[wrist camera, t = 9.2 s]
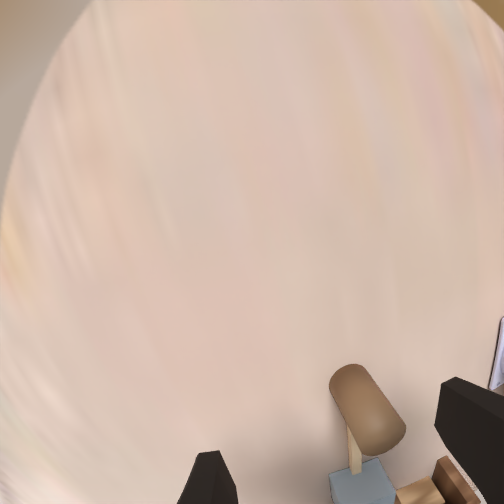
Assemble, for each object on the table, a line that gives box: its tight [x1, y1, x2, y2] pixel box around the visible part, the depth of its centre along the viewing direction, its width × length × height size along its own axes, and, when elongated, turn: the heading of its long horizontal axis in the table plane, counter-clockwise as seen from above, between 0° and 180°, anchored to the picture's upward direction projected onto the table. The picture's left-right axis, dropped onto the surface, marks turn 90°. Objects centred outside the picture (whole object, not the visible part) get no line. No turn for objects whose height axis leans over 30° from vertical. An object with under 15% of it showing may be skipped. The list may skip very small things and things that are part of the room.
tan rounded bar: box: [329, 364, 406, 504], centre depth 19 cm, size 4×16×6 cm, turn 13°
